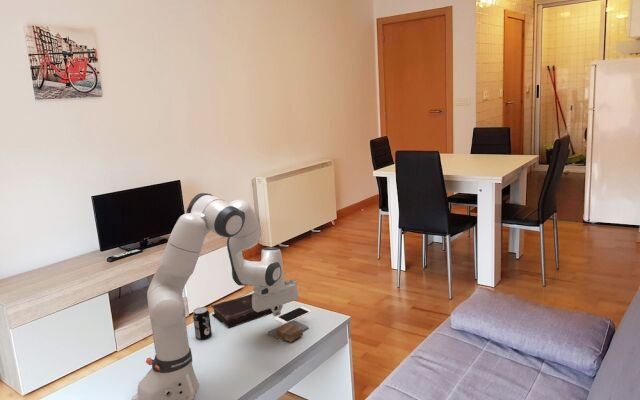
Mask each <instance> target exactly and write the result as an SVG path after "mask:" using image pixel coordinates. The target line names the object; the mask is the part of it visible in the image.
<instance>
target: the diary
mask: <svg viewBox="0 0 640 400" xmlns="http://www.w3.org/2000/svg"><path fill="white" fill-rule="evenodd" d="M252 295H253V293H249V294H247V295H242V296H241V297H238V298H234V299H229V300H226V301H222V302H219V303H215V304H212V305H210V307H211V308H212V309H213V314H211V316H213V318H214V319H216V320H218V322H220V323H221V324H222V323H223V324H225V325H226V326H225V328H226V327H227V329H230V328H233V327H236V326H238V325H241V324H244V323H247V322H250V321H252V320H256V319H259V318H261V317H264V316H266V315H270V314H273V312H272V310H271V309H266V310H263V311H260V312H256V311H255V310H253V308H252ZM277 309H278V306H276V307H275V309H274V311H275V310H277Z"/></svg>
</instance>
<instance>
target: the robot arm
mask: <svg viewBox="0 0 640 400" xmlns="http://www.w3.org/2000/svg"><path fill="white" fill-rule="evenodd" d="M209 232H212V233H215V234H217V235H218V236H220V237H223V238H227V241H226V247H227V253H228V258H229V262H230V267H231V277H232V280H233V281H234V283H235V284H236V285H237V286H239V287H240V286H242V287H243V286H244V287H245V286H252V291H253V293H252V294H253V295H252V308H253V310H255V311H256V312H260V311H263V310H266V309H271V310H272V312H273V313H272V316H273V317H278V316H280V315H282V312H281V311H282V309H283V305H286V304H288V303H291V302H295V301H298V300H299V291H298V289H297V285H298V284H297V281H296V280H295V279H293V278H292V279H289V280H285V274H284V262H283V261H284V260H283V256H282V251H281V249H280V248H279V247H274V246H273V247H271V246H269V247H264V248H261V254H260V255H261V259H260V261H257V260H256V261H254V260H252V261H251V260H247V259H244V254H243V251H245V250H249V249H251V248H253V247H255V246H256V245H257V244H258V243H259V241H260V239H261V238H262V227H261V225H260V221H259V219H258V217H257V215H256V212H254V209H253V207H252V206H251V205H250V203H248V202H247V201H246V200H244V199H234V200H232V201H230V202H227V201H225V200H224V199H222V198H221V197H218V196H215V195H213V194H211V193H208V192H207V193H206V192H201V193H197V194H196V195H195V196H194V197H193V198H192V199H191V200H190V203H189V204H188V206H187V208H186V213H184V214H182V215H180V216H179V217H178V219H177V220H176V223H175V224H174V227H173V228H172V231H171V233H170V236H169V237H168V240H167V243H166V246H165V249H164V251H163V254H162V257H161V260H160V263H159V265H158V267H157V269H156V270H155V273H154V275H153V277H152V279H151V281H150V284H149V286H148V289H147V292H146V298H147V306H148V308H147V309H148V314H149V319H150V320H149V321H150V326H151V332H152V338H153V345H154V350H155V352H154V353H155V355H154V358H153V359H152V358H151V357H147V358H146V360H145V363H146V364H147V365H149V366H151V369H149V370H148V371H147V373H146V374H145V376H143V378H141V380H140V381H139V382H138V385H137V393H136V394H135V395H133V396H132V398H131V400H194V398H195V394H196V393H197V392H198V390H199V388H200V382H199V380H198V378H197V376H196V374H195V370H194V365H193V355H192V354H193V353H192V348H191V347H190V344H189V343H190V342H189V337H188V335H189V334H188V331H187V327H188V326H187V317H186V315H187V314H186V310H185V309H186V306H185V300H184V298H183V292H184V288H185V287H186V284H187V283H188V280H189V279H190V277H191V276H192V275H193V274H194V272H195V268H196V266H197V263H198V259H199V257H200V254H201V252H202V249H203V246H204V242H205V237H206V236H207V235H208V234H209ZM276 306H278V309H277V310H275V311H274V309H275V307H276Z"/></svg>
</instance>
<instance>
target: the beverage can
mask: <svg viewBox="0 0 640 400" xmlns="http://www.w3.org/2000/svg"><path fill="white" fill-rule="evenodd" d="M192 319H193V325H194V333H195V338H197V339H198V340H201V341H202V340H207V339H209V338H210V337H211V336H212V334H213V333H212V324H211V318H210V311H209V309H208V307H205V306H201V307H197V308H195V309H194V310H193V313H192Z"/></svg>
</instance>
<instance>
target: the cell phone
mask: <svg viewBox="0 0 640 400" xmlns="http://www.w3.org/2000/svg"><path fill="white" fill-rule="evenodd" d="M312 312H313V310H311V309H309V308H306V307H304V306H303V305H302V306H299V307H296V308H293V309H292V310H289V311H287V312H285V313H283V314H282V313H281V314H280V315H277V316H274V318H273V320H275V321H277V322H279V323H281V324H282V325H283V324H286V323H288V322H290V321H292V320H295V321H296V319H299V318H301V317H303V316H306V315H307V314H310V313H312Z"/></svg>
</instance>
